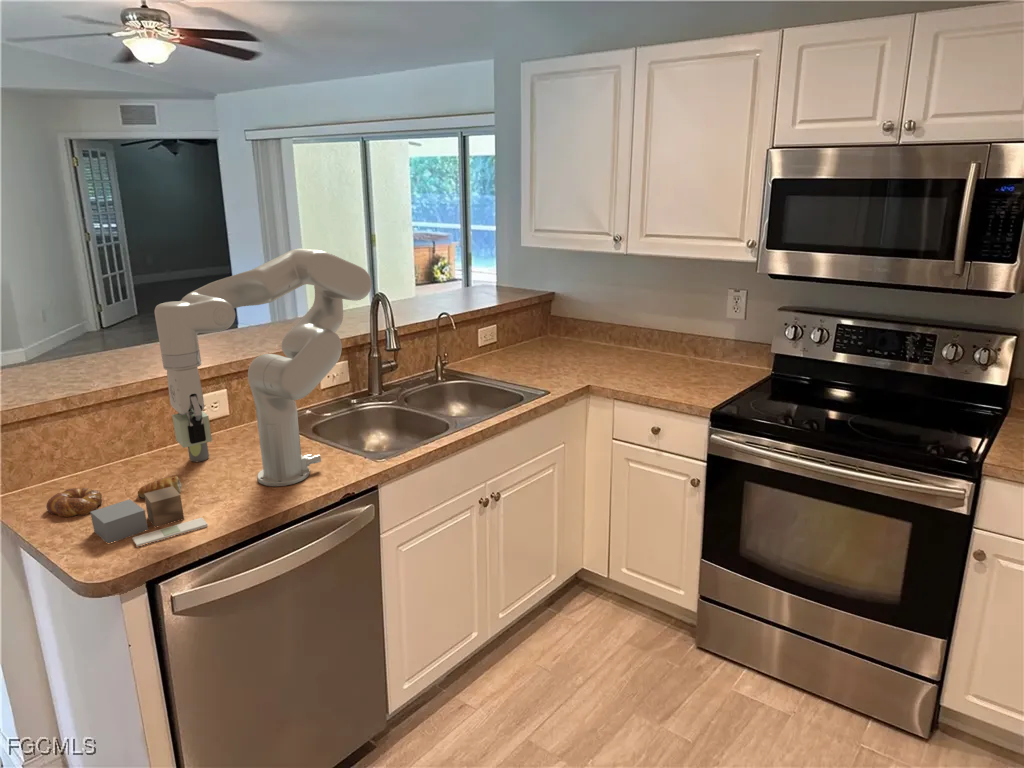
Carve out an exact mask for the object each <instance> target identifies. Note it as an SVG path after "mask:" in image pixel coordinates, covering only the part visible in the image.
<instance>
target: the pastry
mask: <svg viewBox="0 0 1024 768" xmlns="http://www.w3.org/2000/svg"><path fill="white" fill-rule="evenodd" d="M171 486H173V487H174V488H175V489H176V490H177V492H178V493H179V494H181V493H180V492H181V491H182V490H181V488H182V483H181V481H180V479H179V476H177V475H175V476H174V477H165V478H164V477H163V478H160V479H158V480H154V481H153V482H149V483H148V484H145V485H143V486H141V487H140V488H139V489H138V490H137V496H138V497H140V498H141V499H144V498H145V497H144V493H148V492H152V491H156V490H160V489H164V488H167V487H171Z"/></svg>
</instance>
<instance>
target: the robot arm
mask: <svg viewBox="0 0 1024 768" xmlns="http://www.w3.org/2000/svg"><path fill="white" fill-rule="evenodd" d="M305 285H308V286H309V285H310V286H313V289H314V300H313V303H312V306H311V307H310V309H308V311H307V312H306V313H305V315H304V314H303V316H302V317H301V319H299V320H298V322H297V323H295V325H293V327H291V329H290V330H289V331H288V332H286V334H285V335H284V337H283V339H282V341H281V350H282V353H283V354H284V355H285V356H283V355H279V354H274V353H265V354H261V355H259V356H256V357H255V358H254V359H253V360H252V361H251V363H250V364H249V366H248V370H247V379H248V384H249V388H250V390H251V394H252V398H253V401H254V407H255V412H256V413H255V414H256V423H257V430H258V438H259V445H260V446H259V447H260V454H261V455H260V457H261V463H262V464H261V465H262V469H261V470H260V471H259V472H258V473H257V475H256V477H257V482H258V483H259V484H261V485H264V486H266V487H267V486H268V487H285V486H290V485H294V484H297V483H300V482H302V481H304V480H305V479H307V478H308V477H309V476H310V474H311V473H310V466H311V465H312V464H317V463H321V462H322V457H321V455H320V454H317V455H312V454H311V453H310V454H306V455H303V454H302V447H301V437H300V428H299V418H298V416H299V415H298V408H297V403H296V401H299V400H302V399H304V398H305V397H307V396H308V395H310V394H311V393H312V391H314V389H316V387H317V386H318V385H319V384H320V383H321V382H322V381H323V379H325V378H326V376H327V375H328V374H329V373H330V372H331V371H332V370H333V369H334V367H335V366H336V365H337V363H338V362H339V360H340V357H341V355H342V351H343V349H342V348H343V344H342V341H341V338H340V336H339V335H338V334H337V333H336V332H337V331H338V330H339V329H340V327H341V325H342V323H343V321H344V320H343V319H344V305H343V303H344V300H346V301H362V300H363V299H365V298H366V297H367V296H369V294H370V292H371V289H372V279H371V277H370V274H369V273H368V272H367V271H366V269H364V268H363V267H361V266H359V265H357V264H355V263H353V262H350V261H348V260H346V259H344V258H341V257H339V256H336V255H334V254H332V253H330V252H328V251H324V250H321V249H320V250H319V249H312V248H311V249H310V248H295V249H291V250H288V251H287V252H285V253H283V254H281V255H278V256H277V257H275V258H273V259H271V260H269V261H266V262H265V263H263V264H260V265H259V266H257V267H254V268H252V269H249V270H246V271H243V272H239V273H236V274H233V275H231V276H226V277H223V278H221V279H218V280H215V281H212V282H209V283H207V284H205V285H203V286H201V287H199V288H197V289H195V290H193V291H190V292H189V293H187V294H186V295H185V296H183V297H182V298H181V300H179V301H174V300H173V301H165V302H163V303H159V304H157V305H156V306H155V308H154V317H155V324H156V329H157V330H156V331H157V336H158V342H159V348H160V355H161V360H162V365H163V366H162V367H163V369H164V370H165V371H166V378H167V387H168V397H169V405H170V407H172V408H173V409H174V410H175V411H176V412H177V414H179V413H180V414H181V415H185V413H186V415H187V419H188V423H189V426H188V432H189V438H190V443H191V444H194V443H198V442H202V441H205V440H206V436H205V429H204V423H203V418H202V411H203V412H204V410H205V400H204V394H203V388H202V383H201V378H200V373H199V369H198V367H201V366H202V357H201V352H200V345H199V337H198V334H205V333H206V334H208V333H219V332H223V331H226V330H227V329H229V328H231V326H232V325H233V324H234V322H235V319H236V311H235V309H238V308H242V307H250V306H260V305H265V304H269V303H272V302H274V301H276V300H279V299H280V298H282V297H283V296H286V295H288V294H289V293H291V292H293V291H294V290H296V289H299V288H300V287H302V286H305ZM189 411H192V412H189ZM193 414H194V416H193V417H192V419H191V415H193Z"/></svg>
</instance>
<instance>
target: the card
mask: <svg viewBox="0 0 1024 768" xmlns="http://www.w3.org/2000/svg"><path fill="white" fill-rule="evenodd" d="M207 526H208V527H209V524H208V523H207V521H205V519H204V518H203V517H198V518H195V519H192V520H189V521H185V522H181V523H178V524H175V525H171V526H168V527H164V528H161V529H157V530H153V531H150V532H147V533H144V534H140V535H139V534H138V535H137V536H136V535H135V536H131V537H132V541H133V543H134V542H135V543H134V544H136V545H135V547H137V546H141V545H143V544H146V543H150V542H154V541H157V542H159V541H158V540H161V541H163V540H162V539H164V540H166V539H165V538H168V537H171V536H174V535H178V534H181V533H184V534H186V533H185V532H188V531H191V532H193V531H192V530H194V531H197V530H196V529H198V530H201V529H204V528H207ZM200 528H201V529H200ZM188 533H189V532H188ZM181 535H182V534H181ZM178 536H179V535H178ZM174 537H175V536H174ZM171 538H172V537H171ZM168 539H169V538H168ZM154 543H155V542H154ZM141 547H142V546H141Z"/></svg>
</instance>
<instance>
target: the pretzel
mask: <svg viewBox="0 0 1024 768" xmlns="http://www.w3.org/2000/svg"><path fill="white" fill-rule="evenodd" d="M102 497H103V495H102V493H101V492H100V491H99V490H97V489H92V488H89V487H88V488H87V487H82V488H79V487H75V488H68V489H66V490H63V491H62V492H58V493H55V494H54V495H53V496H51V497H50V498H49V499H48V501H47V503H46V510H47V512H48V513H50V514H51V515H55V516H57V515H58V516H59V517H63V518H70V517H75V516H85V515H88V514H91V513H90V512H91V511H94V510H97V509H98V507H100V506H101V505H102V503H103V499H102Z"/></svg>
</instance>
